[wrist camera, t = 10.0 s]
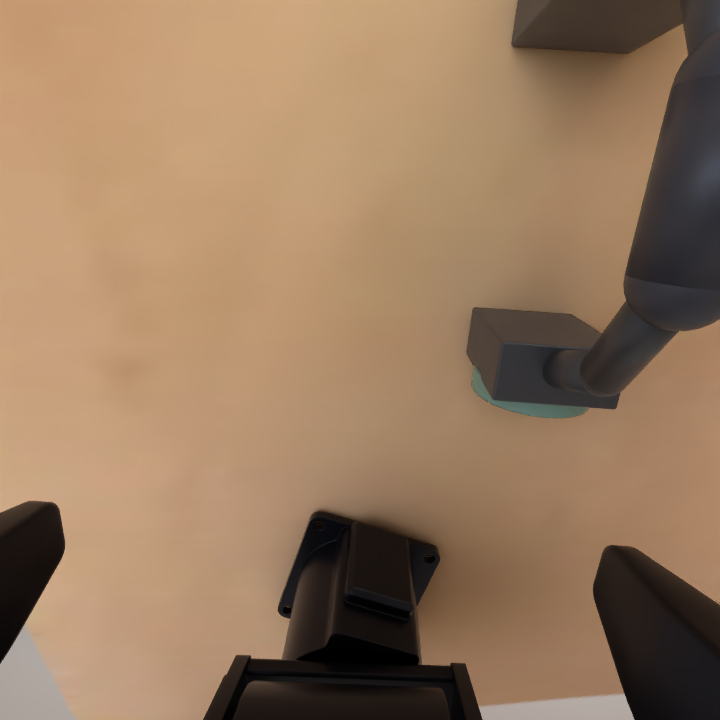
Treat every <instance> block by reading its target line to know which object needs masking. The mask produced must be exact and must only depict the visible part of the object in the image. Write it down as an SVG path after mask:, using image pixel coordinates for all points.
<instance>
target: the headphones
mask: <svg viewBox="0 0 720 720" xmlns="http://www.w3.org/2000/svg"><path fill="white" fill-rule="evenodd" d="M682 23H683V25H684V31H685V38H686V44H687V50H688V57H687V58H686V59H685V61H684V62H683V63H682V65H681V67H680V69H679V70H678V72H677V74H676V76H675V79H674V82H673V85H672V88H671V91H670V95H669V99H668V103H667V107H666V111H665V115H664V119H663V123H662V127H661V131H660V135H659V139H658V143H657V147H656V151H655V155H654V159H653V163H652V167H651V171H650V175H649V179H648V183H647V187H646V191H645V195H644V199H643V203H642V207H641V211H640V215H639V219H638V223H637V227H636V231H635V235H634V239H633V243H632V247H631V251H630V255H629V259H628V263H627V267H626V271H625V277H624V294H625V297H626V302H625V303H624V304H623V306H622V307H621V308H620V310H619V311H618V313H617V314H616V315H615V317H614V318H613V319H612V321H611V322H610V323H609V325H608V326H607V327H606V329H605V330H604V332H603V333H600V332H599V331H597V330H596V329H594V328H592V327H591V326H589V325H588V324H586V323H584V322H583V321H581V320H580V319H578V318H576V317H575V316H573V315H572V314H562V313H547V312H533V311H519V310H505V309H490V308H476V307H475V308H473V311H472V318H471V325H470V331H469V338H468V345H467V355H468V357H469V359H470V360H471V362H472V364H473V366H474V369H473V376H472V383H471V385H472V388H473V390H474V392H475V393H476V394H477V395H478V396H480V397H481V398H482V399H484V400H486V401H487V402H489V403H491V404H493V405H496V406H498V407H500V408H503V409H506V410H509V411H512V412H516V413H520V414H525V415H529V416H536V417H544V418H569V417H575V416H579V415H581V414H584V413H585V412H586V411H588V409H589V408H590V407H591V408H604V409H616V407H617V404H618V400H619V396H620V392H621V391H622V390H623V389H625V387H626V386H627V385H628V384H629V383H630V382H631V381H632V380H633V379H634V378H635V377H636V376H637V375H638V374H639V373H640V372H641V371H642V370H643V369H644V367H645V366H646V365H647V364H648V363H649V362H650V361H651V360H652V359H653V358H654V357H655V356H656V355H657V354H658V353H659V352H660V351H661V350H662V349H663V347H664V346H665V345H666V344H667V343H668V342H669V341H670V340H671V339H672V338H673V337H674V336H675V335H676V334H677V333H678V332H679V331H689V330H694V329H699V328H702V327H705V326H707V325H710V324H712V323H714V322H716V321H717V320H719V319H720V0H518V3H517V10H516V17H515V24H514V30H513V37H512V46H514V47H530V48H545V49H561V50H577V51H593V52H609V53H625V54H628V53H630V52H632V51H634V50H636V49H638V48H639V47H641V46H643V45H645V44H647V43H648V42H650V41H652V40H654V39H656V38H657V37H659V36H661V35H663V34H664V33H666V32H668V31H670V30H672V29H673V28H675V27H677V26H679V25H681V24H682Z"/></svg>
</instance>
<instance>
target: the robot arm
mask: <svg viewBox="0 0 720 720" xmlns="http://www.w3.org/2000/svg"><path fill="white" fill-rule="evenodd" d="M317 521H321V522H323V523H324V524H322V525H320V524H317V523H316V522H317ZM64 550H65V538H64V533H63V527H62V521H61V516H60V510H59V508H58V506H57V505H56V504H55V503H52V502H42V501H28V502H25V503H22V504H20V505H18V506H15V507H13V508H11V509H8V510H6V511H4V512H1V513H0V663H1V662H2V660H3V659H4V657H5V656H6V654H7V653H8V651H9V650H10V648H11V646H12V645H13V643H14V641H15V640H16V638H17V636H18V635H19V633H20V631H21V629H22V627H23V626H24V624H25V622H26V621H27V619H28V617H29V615H30V614H31V612H32V610H33V608H34V607H35V605H36V603H37V601H38V599H39V598H40V596H41V594H42V592H43V591H44V589H45V587H46V585H47V584H48V582H49V580H50V578H51V576H52V575H53V573H54V571H55V569H56V568H57V566H58V564H59V562H60V561H61V559H62V556H63V554H64ZM426 555H433V556H431V557H426ZM439 561H440V556H439V551H438V549H437V547H435V546H433V545H431V544H428V543H424V542H421V541H418V540H414V539H411V538H408V537H405V536H402V535H399V534H396V533H392V532H389V531H386V530H382V529H379V528H376V527H372V526H369V525H366V524H363V523H359V522H355V521H352V520H349V519H345V518H342V517H339V516H335V515H332V514H329V513H326V512H321V511H319V512H315V513H313V514H312V515H311V517H310V519H309V522H308V525H307V528H306V530H305V533H304V536H303V539H302V541H301V544H300V547H299V549H298V552H297V555H296V558H295V560H294V563H293V566H292V569H291V571H290V574H289V577H288V579H287V582H286V585H285V588H284V590H283V593H282V596H281V599H280V602H279V606H278V612H279V614H280V615H281V616H283V617H286V618H290V623H289V628H288V632H287V637H286V642H285V647H284V652H283V657H282V660H279V659H252V658H251V656H249V655H236V657H235V659H234V661H233V663H232V665H231V667H230V669H229V671H228V673H227V675H225V676H224V678H223V680H222V682H221V684H220V686H219V688H218V690H217V692H216V694H215V696H214V698H213V700H212V703H211V705H210V707H209V709H208V711H207V713H206V715H205V717H204V719H203V720H482V717H481V713H480V710H479V707H478V704H477V700H476V697H475V694H474V690H473V687H472V684H471V681H470V677H469V674H468V671H467V668H466V664H465V663H451V664H450V666H440V665H422V658H421V647H420V637H419V626H418V615H417V605H418V603H419V601H420V599H421V597H422V595H423V593H424V591H425V589H426V587H427V585H428V583H429V581H430V579H431V577H432V575H433V573H434V571H435V569H436V567H437V565H438V563H439ZM593 595H594V600H595V603H596V607H597V610H598V613H599V616H600V619H601V622H602V625H603V629H604V632H605V635H606V638H607V641H608V644H609V647H610V650H611V654H612V657H613V660H614V663H615V666H616V669H617V672H618V675H619V679H620V682H621V685H622V688H623V690H624V693H625V696H626V699H627V702H628V704H629V707H630V709H631V711H632V714H633V717H634V719H635V720H720V605H719V604H718V603H716V602H715V601H713V600H712V599H710V598H709V597H707V596H706V595H704V594H703V593H701V592H700V591H698V590H697V589H695V588H694V587H692V586H691V585H689V584H688V583H686V582H685V581H683V580H682V579H681V578H679V577H678V576H676V575H675V574H673V573H672V572H670V571H669V570H667V569H666V568H664V567H663V566H661V565H660V564H658V563H657V562H655V561H654V560H652V559H651V558H649V557H648V556H646V555H645V554H644V553H642V552H641V551H639V550H638V549H636V548H634V547H629V546H617V545H610V546H607V547H606V548H605V549H604V551H603V553H602V556H601V560H600V563H599V567H598V570H597V573H596V577H595V580H594V585H593ZM286 606H289V607H286Z"/></svg>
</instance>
